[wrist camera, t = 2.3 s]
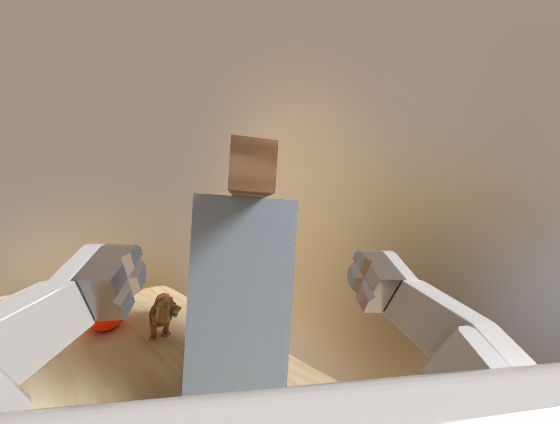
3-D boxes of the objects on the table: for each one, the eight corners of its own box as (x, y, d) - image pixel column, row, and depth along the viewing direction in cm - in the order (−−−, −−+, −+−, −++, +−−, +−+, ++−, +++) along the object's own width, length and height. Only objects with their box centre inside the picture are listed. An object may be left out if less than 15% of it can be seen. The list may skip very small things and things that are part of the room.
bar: (275, 192, 16) (278, 140, 16) (227, 189, 16) (231, 134, 16) (255, 201, 38) (257, 178, 38) (235, 199, 37) (236, 176, 37)
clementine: (91, 345, 41) (93, 308, 41) (70, 335, 43) (72, 300, 43) (133, 325, 48) (135, 293, 48) (114, 317, 51) (115, 287, 51)
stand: (283, 438, 26) (298, 200, 26) (178, 451, 24) (193, 193, 24) (269, 362, 39) (279, 202, 39) (200, 367, 37) (210, 198, 37)
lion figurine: (180, 343, 43) (183, 298, 43) (149, 352, 40) (152, 303, 40) (169, 312, 55) (171, 277, 55) (144, 317, 52) (146, 279, 52)
